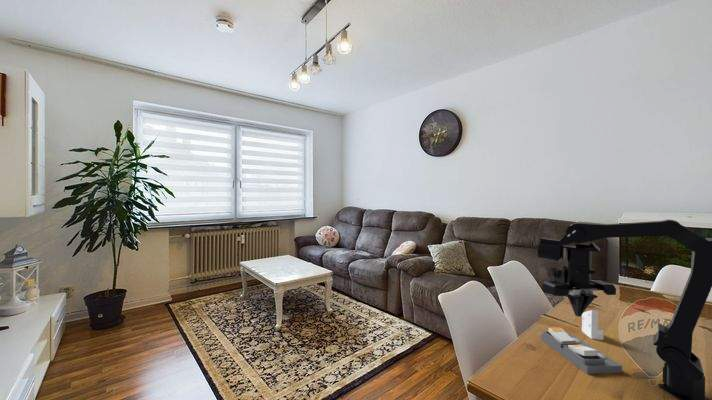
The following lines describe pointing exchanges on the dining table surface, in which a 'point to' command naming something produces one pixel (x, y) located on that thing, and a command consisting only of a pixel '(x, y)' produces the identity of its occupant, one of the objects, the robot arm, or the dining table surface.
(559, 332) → the far rocker
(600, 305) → the dining table surface
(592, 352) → the near rocker
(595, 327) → the white wedge bracket
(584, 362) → the grey stepped stand
